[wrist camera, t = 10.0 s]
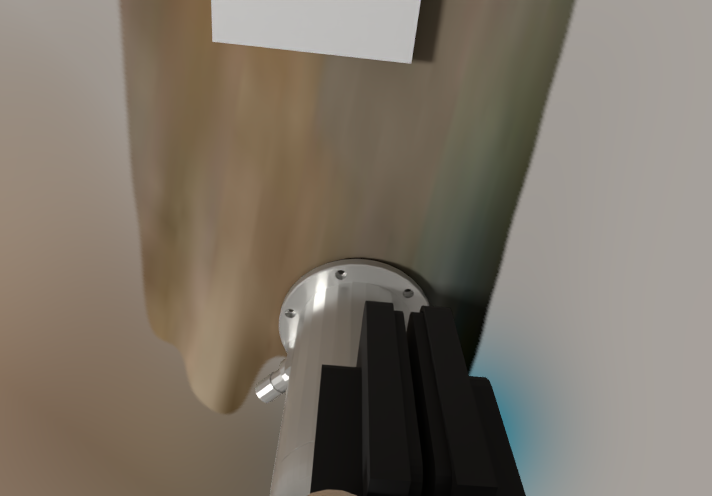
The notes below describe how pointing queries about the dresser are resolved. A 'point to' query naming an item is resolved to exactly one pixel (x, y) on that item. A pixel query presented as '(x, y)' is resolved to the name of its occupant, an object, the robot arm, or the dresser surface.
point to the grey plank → (321, 26)
